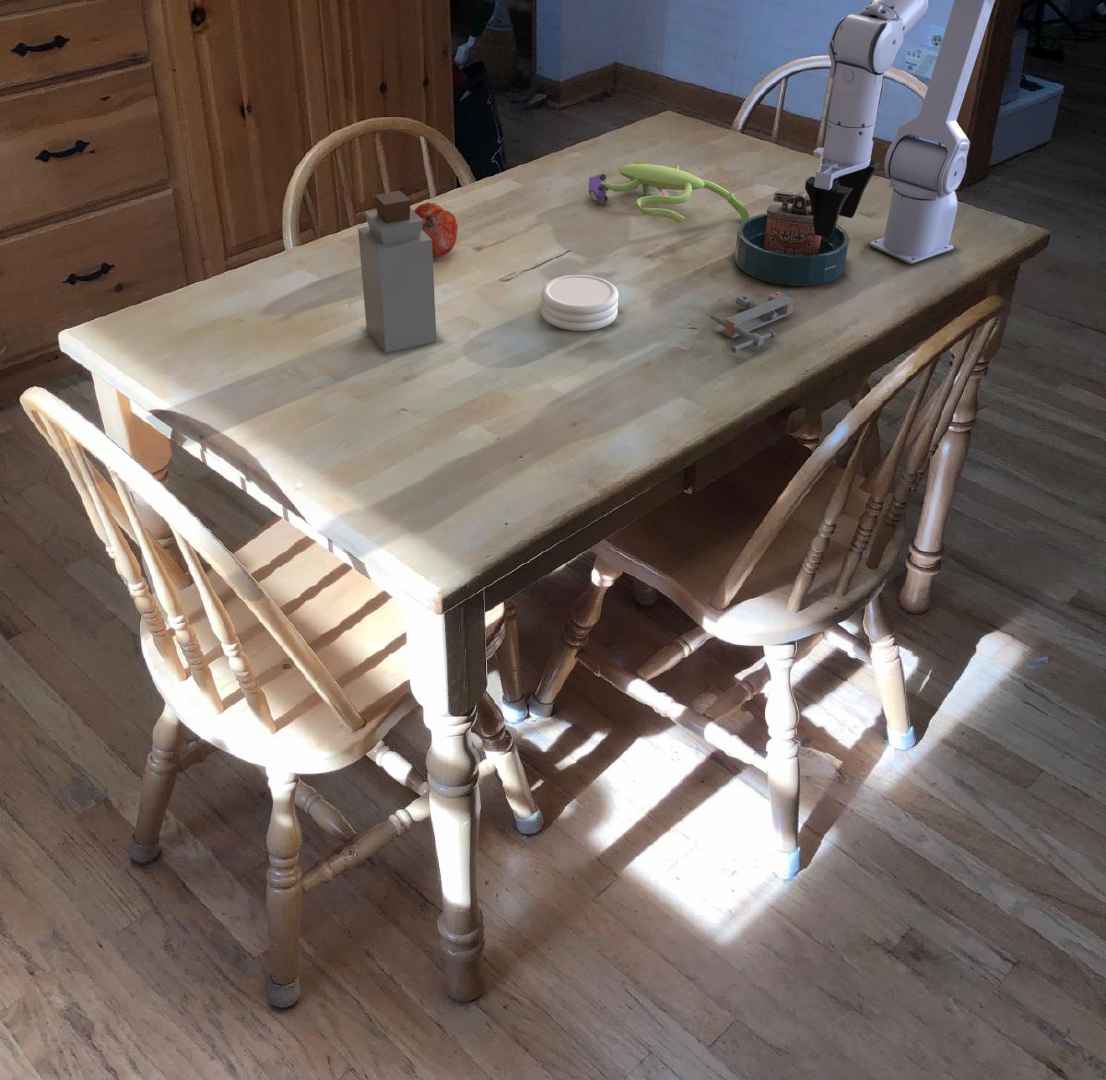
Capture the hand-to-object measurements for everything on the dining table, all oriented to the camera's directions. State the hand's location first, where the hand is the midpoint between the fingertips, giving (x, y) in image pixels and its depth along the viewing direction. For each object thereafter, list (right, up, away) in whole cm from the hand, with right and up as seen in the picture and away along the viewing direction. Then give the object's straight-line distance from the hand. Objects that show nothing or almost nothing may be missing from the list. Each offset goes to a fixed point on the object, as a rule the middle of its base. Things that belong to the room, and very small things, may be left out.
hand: (834, 225), depth 158 cm
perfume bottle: (-56, -15, -4) cm, 58 cm away
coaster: (-33, -12, +1) cm, 35 cm away
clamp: (-11, -14, -1) cm, 18 cm away
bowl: (-3, -2, +15) cm, 15 cm away
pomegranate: (-54, 0, +16) cm, 56 cm away
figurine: (-19, +10, +30) cm, 37 cm away
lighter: (-3, -2, +15) cm, 15 cm away
